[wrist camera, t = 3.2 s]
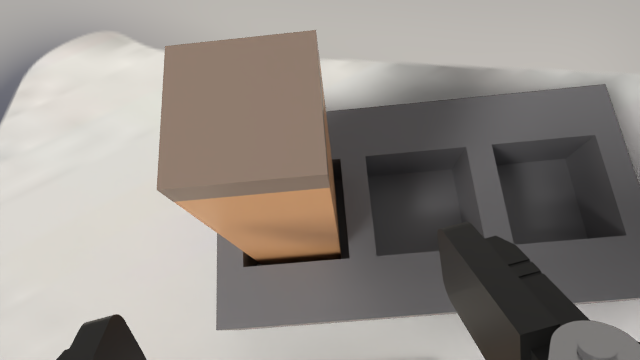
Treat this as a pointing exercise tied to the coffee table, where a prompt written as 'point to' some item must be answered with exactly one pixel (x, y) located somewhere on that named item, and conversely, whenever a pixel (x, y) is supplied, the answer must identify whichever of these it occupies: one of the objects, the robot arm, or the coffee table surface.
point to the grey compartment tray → (455, 208)
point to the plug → (251, 145)
